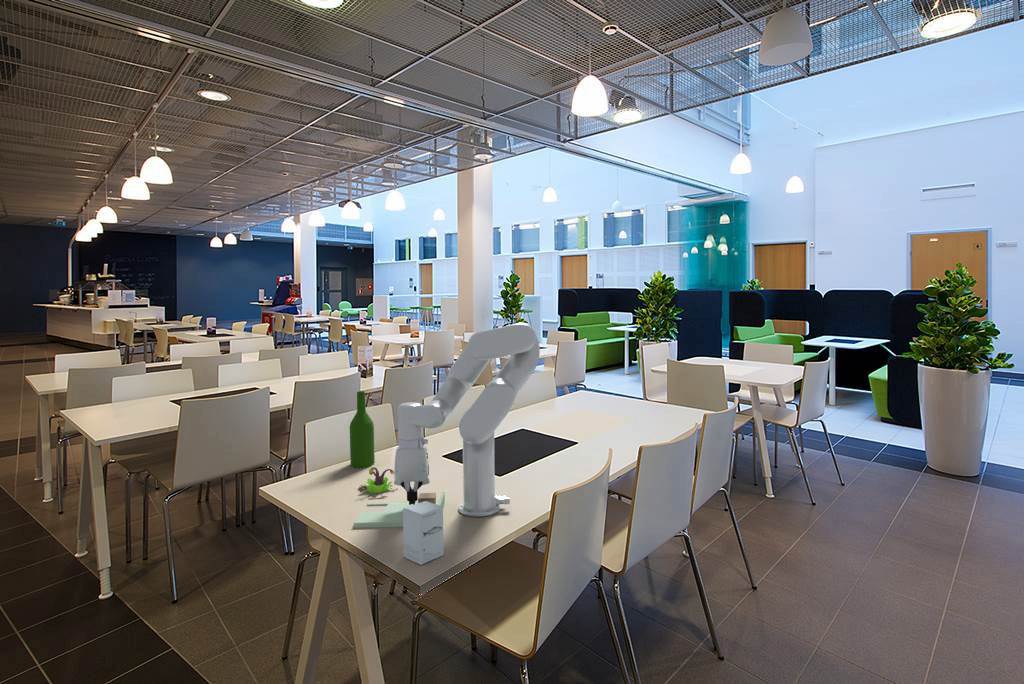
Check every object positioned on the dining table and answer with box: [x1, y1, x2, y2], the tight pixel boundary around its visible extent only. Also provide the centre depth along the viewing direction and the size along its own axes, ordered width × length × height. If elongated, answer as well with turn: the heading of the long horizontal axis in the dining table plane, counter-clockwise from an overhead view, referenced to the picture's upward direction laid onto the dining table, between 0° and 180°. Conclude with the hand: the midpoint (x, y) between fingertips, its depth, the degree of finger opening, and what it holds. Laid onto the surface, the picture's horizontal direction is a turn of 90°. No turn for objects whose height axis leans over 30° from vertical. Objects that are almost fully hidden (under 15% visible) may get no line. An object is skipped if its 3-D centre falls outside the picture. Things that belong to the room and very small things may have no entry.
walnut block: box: [417, 492, 437, 504], centre depth 163 cm, size 5×5×3 cm
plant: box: [356, 466, 398, 501], centre depth 178 cm, size 20×20×11 cm
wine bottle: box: [349, 390, 376, 469], centre depth 203 cm, size 9×9×32 cm
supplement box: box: [402, 501, 445, 566], centre depth 132 cm, size 7×7×13 cm
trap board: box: [353, 491, 446, 529], centre depth 157 cm, size 24×16×6 cm, turn 92°
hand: (412, 503), depth 161 cm, fingers closed
